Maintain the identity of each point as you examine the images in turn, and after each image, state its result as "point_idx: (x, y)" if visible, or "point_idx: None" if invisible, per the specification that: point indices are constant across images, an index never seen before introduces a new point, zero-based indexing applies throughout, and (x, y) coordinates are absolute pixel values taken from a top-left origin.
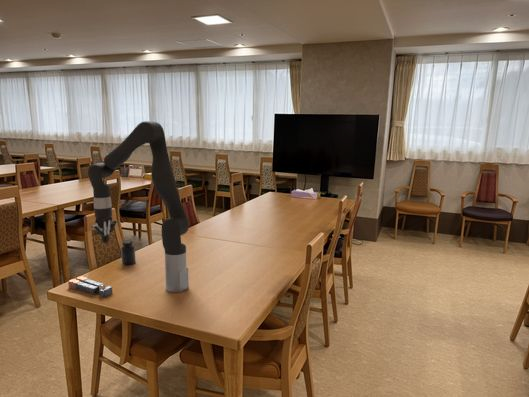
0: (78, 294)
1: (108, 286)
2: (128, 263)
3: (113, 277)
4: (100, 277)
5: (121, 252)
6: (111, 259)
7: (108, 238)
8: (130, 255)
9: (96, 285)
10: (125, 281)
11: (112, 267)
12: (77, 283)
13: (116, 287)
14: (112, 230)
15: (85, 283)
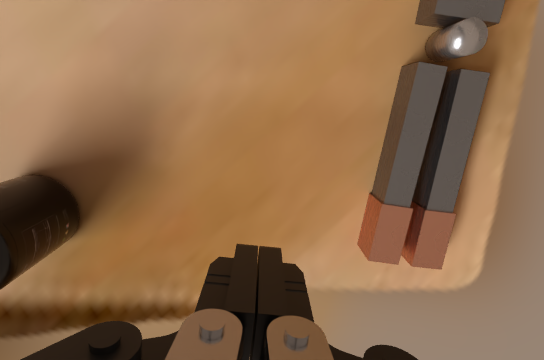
0: (474, 155)
1: (440, 10)
2: (63, 191)
3: (246, 145)
4: (273, 207)
5: (27, 265)
6: (55, 328)
7: (215, 277)
8: (13, 196)
9: (437, 97)
10: (264, 41)
11: (139, 246)
12: (450, 206)
13: (349, 32)
14: (56, 348)
15: (440, 167)
